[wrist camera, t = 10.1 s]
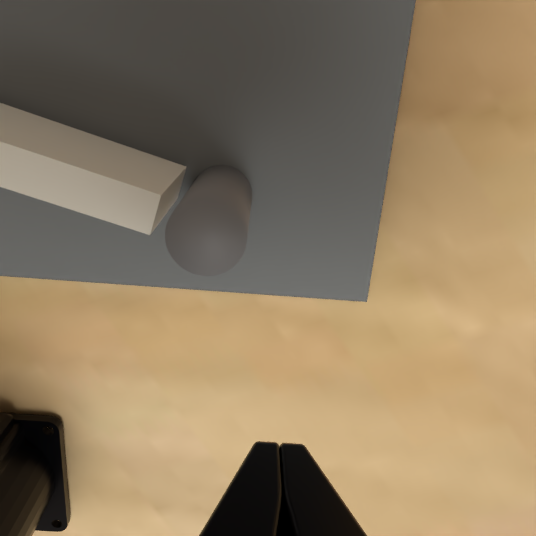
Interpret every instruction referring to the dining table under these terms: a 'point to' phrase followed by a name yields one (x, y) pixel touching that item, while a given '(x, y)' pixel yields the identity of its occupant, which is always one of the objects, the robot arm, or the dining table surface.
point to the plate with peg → (215, 130)
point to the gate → (128, 189)
